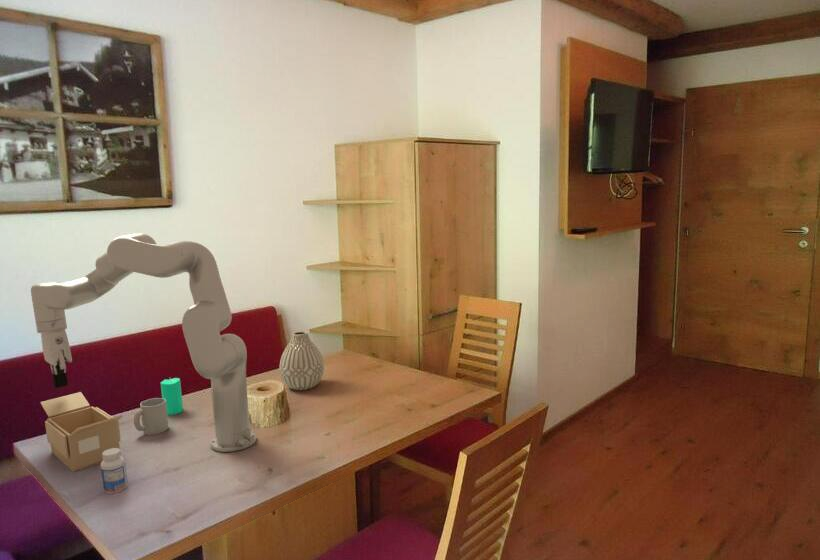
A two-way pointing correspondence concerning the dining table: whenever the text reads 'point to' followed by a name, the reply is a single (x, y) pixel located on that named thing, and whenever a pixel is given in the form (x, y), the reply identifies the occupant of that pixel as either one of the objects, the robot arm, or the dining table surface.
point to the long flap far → (64, 404)
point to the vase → (301, 363)
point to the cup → (152, 416)
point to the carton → (81, 437)
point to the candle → (172, 395)
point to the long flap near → (96, 425)
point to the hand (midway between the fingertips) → (61, 386)
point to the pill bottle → (113, 471)
